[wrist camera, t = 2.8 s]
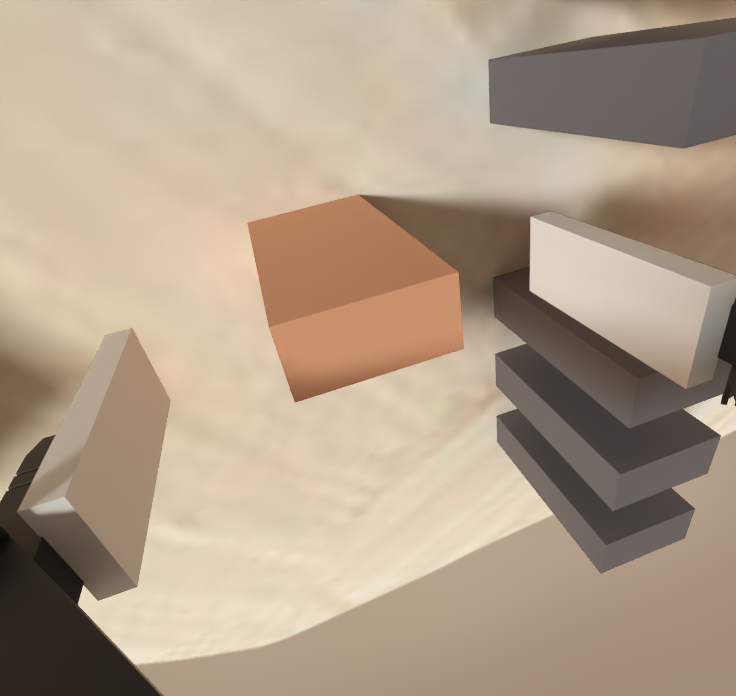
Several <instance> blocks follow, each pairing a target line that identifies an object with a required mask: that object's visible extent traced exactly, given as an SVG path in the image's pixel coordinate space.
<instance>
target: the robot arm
mask: <svg viewBox="0 0 736 696" xmlns="http://www.w3.org/2000/svg"><path fill="white" fill-rule="evenodd" d="M530 291H531V292H533V293H534V294H536V295H537V296H539V297H540V298H542V299H544V300H545V301H547V302H548V303H550V304H552V305H553V306H555V307H556V308H558V309H560V310H561V311H563V312H564V313H566V314H567V315H569V316H571V317H572V318H574V319H575V320H577V321H579V322H580V323H582V324H583V325H585V326H587V327H588V328H590V329H591V330H593V331H594V332H596V333H598V334H599V335H601V336H602V337H604V338H606V339H607V340H609V341H610V342H612V343H614V344H615V345H617V346H618V347H620V348H621V349H623V350H625V351H626V352H628V353H629V354H631V355H633V356H634V357H636V358H637V359H639V360H641V361H642V362H644V363H645V364H647V365H648V366H650V367H652V368H653V369H655V370H656V371H658V372H660V373H661V374H663V375H664V376H666V377H668V378H669V379H671V380H672V381H674V382H675V383H677V384H679V385H680V386H682V387H683V388H685V389H688V388H691V387H693V386H696V385H699V384H702V383H704V382H707V381H710V380H712V379H713V375H714V372H715V368H716V365H717V361H718V358H719V359H721V360H723V361H725V362H727V363H729V364H731V365H732V366H731V370H730V373H729V376H728V379H727V383H726V386H725V389H724V393H723V396H722V400H721V404H724V405H727V402H728V399H729V398H731V397H732V396H734V399H735V402H736V275H735V274H732V273H729V272H726V271H723V270H720V269H717V268H714V267H712V266H708V265H706V264H703V263H700V262H696V261H694V260H691V259H688V258H685V257H683V256H680V255H677V254H673V253H670V252H667V251H664V250H662V249H659V248H656V247H653V246H650V245H647V244H644V243H641V242H638V241H635V240H633V239H630V238H627V237H624V236H621V235H618V234H615V233H612V232H609V231H607V230H604V229H601V228H598V227H595V226H592V225H589V224H586V223H583V222H581V221H578V220H575V219H572V218H569V217H566V216H563V215H560V214H557V213H554V212H552V211H550V212H546V213H543V214H539V215H535V216H532V217H531V219H530ZM169 405H170V398H169V397H168V395H167V393H166V391H165V389H164V387H163V385H162V383H161V381H160V380H159V378H158V376H157V374H156V372H155V370H154V368H153V366H152V364H151V363H150V361H149V359H148V357H147V355H146V353H145V351H144V349H143V347H142V346H141V344H140V342H139V340H138V338H137V336H136V334H135V332H134V330H133V329H132V328H130V329H126V330H123V331H119V332H116V333H112V334H108V335H105V337H104V339H103V341H102V343H101V345H100V347H99V349H98V351H97V353H96V355H95V357H94V359H93V361H92V363H91V365H90V367H89V369H88V371H87V373H86V375H85V377H84V379H83V381H82V383H81V385H80V387H79V389H78V391H77V393H76V395H75V397H74V399H73V401H72V403H71V405H70V407H69V409H68V411H67V413H66V415H65V417H64V419H63V421H62V423H61V425H60V427H59V429H58V431H57V433H56V435H53V436H50V437H47V438H43V439H42V440H41V441H40V442H39V443H38V444H37V445H36V446H35V447H34V448H33V449H32V450H31V451H30V452H29V453H28V454H27V455H26V457H25V458H24V460H23V462H22V464H21V466H20V468H19V469H18V471H17V473H16V474H17V476H16V477H14V478H13V480H12V482H11V484H10V486H9V487H8V488H9V491H6V493H5V495H4V496H3V498H2V500H1V502H0V696H164V695H163V694H162V693H161V692H160V691H159V690H158V689H157V688H156V687H155V686H154V685H153V684H152V683H151V682H150V681H149V680H148V678H147V677H145V675H144V674H143V673H142V672H141V671H140V670H139V669H138V668H137V667H136V666H135V665H134V664H133V663H132V662H131V661H130V660H129V658H128V657H127V656H126V655H125V654H124V653H123V652H122V651H121V650H120V649H119V648H118V647H117V646H116V645H115V644H114V643H113V642H112V641H111V639H110V638H109V637H108V636H107V635H106V634H105V633H104V632H103V631H102V630H101V629H100V628H99V627H98V626H97V625H96V624H95V623H94V622H93V621H92V619H91V618H90V617H89V616H88V615H87V614H86V613H85V612H84V611H83V610H82V609H81V608H80V607H79V606H78V605H77V604H78V601H79V598H80V594H81V591H82V587H83V585H84V586H85V587H86V588H87V589H88V590H89V591H90V592H91V594H92V595H93V596H94V597H95V598H96V599H97V600H98V601H99V600H102V599H104V598H107V597H110V596H113V595H116V594H118V593H121V592H124V591H127V590H129V589H132V588H135V587H137V586H138V580H139V574H140V569H141V563H142V557H143V552H144V546H145V540H146V535H147V529H148V524H149V518H150V512H151V507H152V501H153V495H154V490H155V484H156V479H157V473H158V467H159V462H160V456H161V450H162V445H163V439H164V433H165V428H166V422H167V417H168V411H169ZM735 406H736V403H735Z"/></svg>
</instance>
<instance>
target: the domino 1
mask: <svg viewBox="0 0 736 696" xmlns="http://www.w3.org/2000/svg"><path fill="white" fill-rule="evenodd" d="M248 228H249V233H250V238H251V242H252V247H253V252H254V257H255V262H256V266H257V271H258V276H259V281H260V286H261V291H262V295H263V300H264V305H265V310H266V315H267V320H268V324H269V328H270V331H271V334H272V337H273V340H274V343H275V346H276V349H277V352H278V355H279V358H280V360H281V363H282V366H283V369H284V372H285V375H286V378H287V381H288V384H289V387H290V390H291V392H292V395H293V398H294V401H295V402H298V401H301V400H304V399H308V398H311V397H314V396H317V395H320V394H323V393H326V392H330V391H333V390H336V389H339V388H342V387H345V386H348V385H351V384H355V383H358V382H361V381H364V380H367V379H370V378H373V377H376V376H380V375H383V374H386V373H389V372H392V371H395V370H398V369H401V368H405V367H408V366H411V365H414V364H417V363H420V362H423V361H427V360H430V359H433V358H436V357H439V356H442V355H445V354H448V353H452V352H455V351H458V350H461V349H464V344H463V330H462V315H461V301H460V286H459V272H458V271H457V270H455V269H454V268H453V267H451V266H450V265H449V264H448V263H446V262H445V261H444V260H442V259H441V258H440V257H439V256H437V255H436V254H435V253H433V252H432V251H431V250H429V249H428V248H427V247H426V246H424V245H423V244H422V243H420V242H419V241H418V240H416V239H415V238H414V237H413V236H411V235H410V234H409V233H407V232H406V231H405V230H404V229H402V228H401V227H400V226H398V225H397V224H396V223H394V222H393V221H392V220H391V219H389V218H388V217H387V216H385V215H384V214H383V213H382V212H380V211H379V210H378V209H376V208H375V207H374V206H372V205H371V204H370V203H369V202H367V201H366V200H365V199H363V198H362V197H361V196H360V195H355V196H351V197H347V198H343V199H339V200H335V201H332V202H328V203H324V204H320V205H316V206H312V207H308V208H304V209H300V210H296V211H292V212H289V213H285V214H281V215H277V216H273V217H269V218H265V219H261V220H257V221H253V222H249V223H248Z"/></svg>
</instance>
